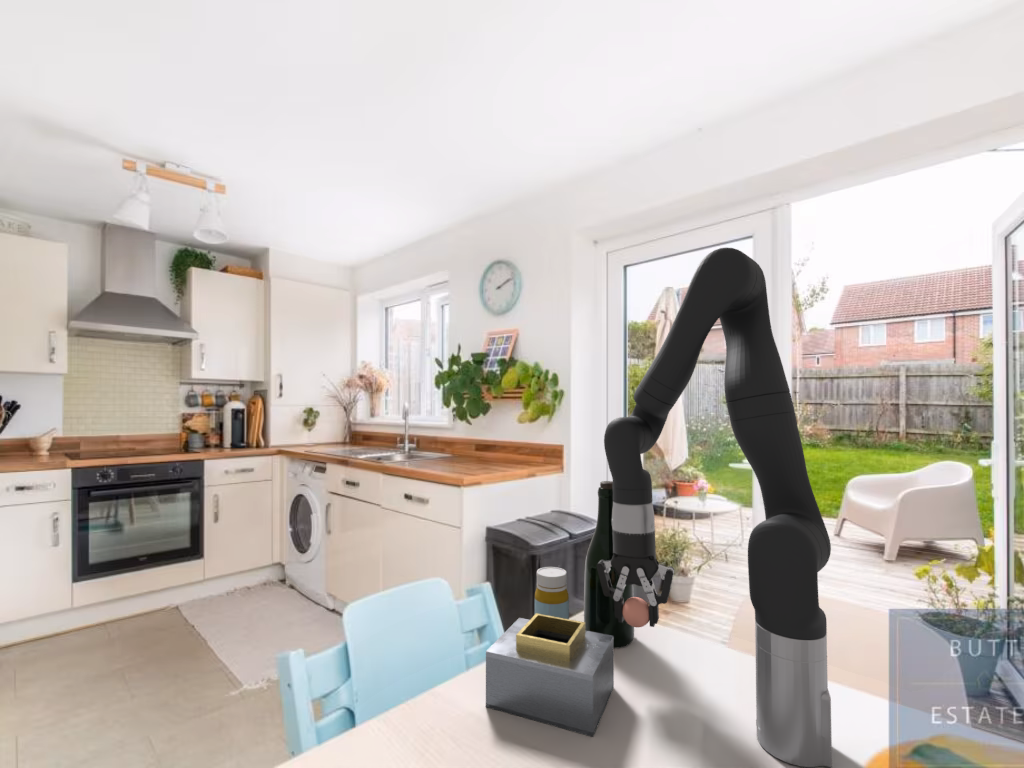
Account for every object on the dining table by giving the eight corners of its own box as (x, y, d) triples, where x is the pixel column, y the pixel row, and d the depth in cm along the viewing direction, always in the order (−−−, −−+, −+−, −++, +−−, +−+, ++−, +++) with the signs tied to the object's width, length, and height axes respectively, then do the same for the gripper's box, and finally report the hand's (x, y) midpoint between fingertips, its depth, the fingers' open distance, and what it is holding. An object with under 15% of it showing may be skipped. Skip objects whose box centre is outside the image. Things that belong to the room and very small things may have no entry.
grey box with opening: (613, 688, 88) (613, 621, 88) (593, 736, 75) (592, 658, 76) (519, 665, 95) (519, 604, 96) (485, 706, 82) (485, 635, 83)
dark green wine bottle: (584, 648, 102) (584, 485, 103) (583, 625, 112) (582, 477, 113) (637, 651, 101) (636, 486, 102) (631, 628, 111) (630, 478, 112)
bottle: (568, 638, 106) (568, 566, 107) (569, 655, 99) (568, 578, 100) (535, 636, 107) (535, 565, 107) (533, 653, 100) (533, 577, 101)
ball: (653, 622, 92) (652, 594, 92) (649, 634, 87) (648, 604, 87) (625, 618, 94) (624, 591, 94) (620, 629, 89) (619, 600, 89)
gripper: (676, 525, 92) (680, 620, 91) (599, 520, 98) (602, 609, 97) (672, 534, 85) (676, 638, 84) (589, 528, 91) (592, 625, 90)
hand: (636, 622), depth 90 cm, fingers closed on ball, 5 cm apart
